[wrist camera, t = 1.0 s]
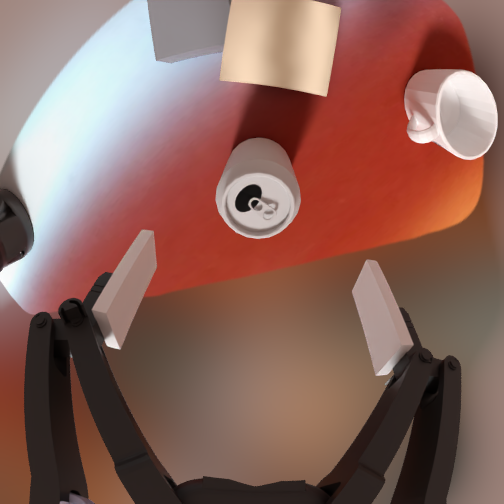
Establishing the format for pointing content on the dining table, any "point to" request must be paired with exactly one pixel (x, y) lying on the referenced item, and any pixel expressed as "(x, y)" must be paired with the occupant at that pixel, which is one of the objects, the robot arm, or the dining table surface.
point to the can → (258, 189)
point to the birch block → (281, 44)
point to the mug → (451, 111)
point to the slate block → (188, 28)
